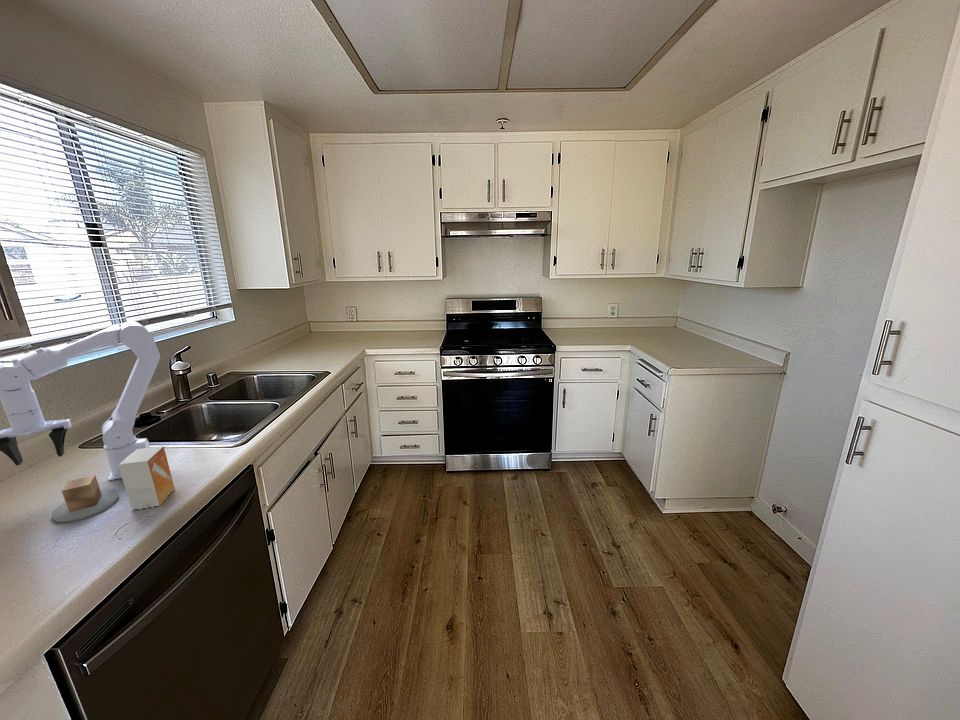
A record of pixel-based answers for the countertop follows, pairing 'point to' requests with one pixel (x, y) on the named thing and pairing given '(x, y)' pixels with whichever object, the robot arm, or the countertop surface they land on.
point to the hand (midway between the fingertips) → (40, 459)
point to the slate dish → (106, 501)
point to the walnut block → (81, 493)
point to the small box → (146, 477)
